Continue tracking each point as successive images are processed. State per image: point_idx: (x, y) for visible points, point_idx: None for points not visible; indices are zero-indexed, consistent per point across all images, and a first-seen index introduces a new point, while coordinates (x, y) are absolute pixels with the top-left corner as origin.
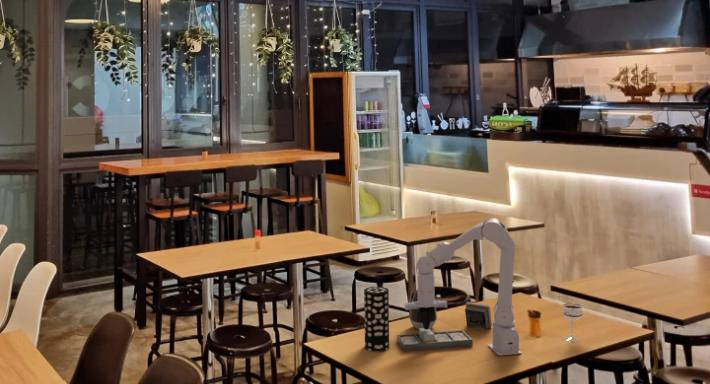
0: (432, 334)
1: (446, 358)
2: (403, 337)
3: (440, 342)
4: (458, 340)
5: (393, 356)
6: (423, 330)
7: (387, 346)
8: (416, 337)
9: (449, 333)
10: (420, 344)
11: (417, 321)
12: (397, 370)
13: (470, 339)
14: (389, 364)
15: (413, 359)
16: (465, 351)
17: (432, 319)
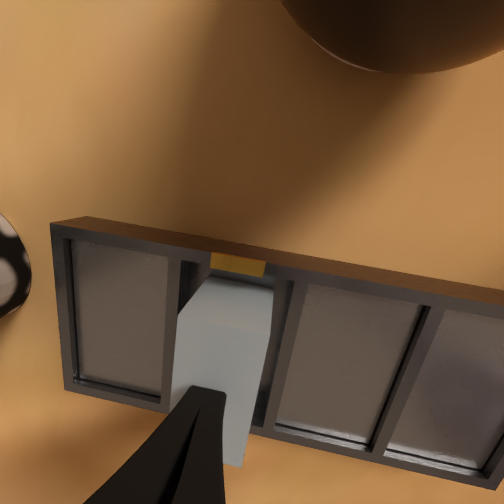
0: (227, 462)
1: (247, 490)
2: (94, 264)
3: (278, 436)
4: (398, 465)
5: (37, 386)
6: (195, 376)
7: (3, 314)
8: (167, 319)
9: (447, 321)
10: (158, 406)
11: (290, 8)
12: (35, 487)
13: (483, 484)
14: (13, 440)
15: (112, 443)
16: (376, 474)
17: (498, 48)
